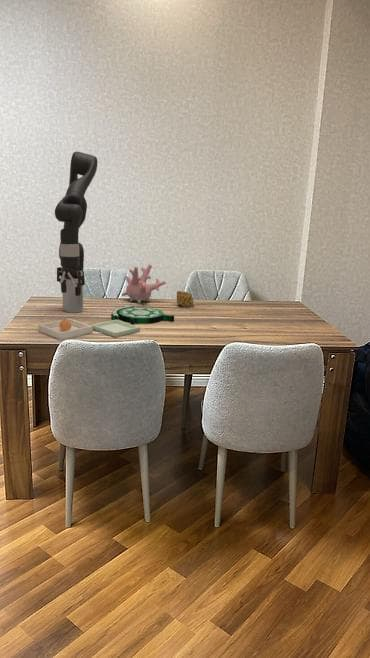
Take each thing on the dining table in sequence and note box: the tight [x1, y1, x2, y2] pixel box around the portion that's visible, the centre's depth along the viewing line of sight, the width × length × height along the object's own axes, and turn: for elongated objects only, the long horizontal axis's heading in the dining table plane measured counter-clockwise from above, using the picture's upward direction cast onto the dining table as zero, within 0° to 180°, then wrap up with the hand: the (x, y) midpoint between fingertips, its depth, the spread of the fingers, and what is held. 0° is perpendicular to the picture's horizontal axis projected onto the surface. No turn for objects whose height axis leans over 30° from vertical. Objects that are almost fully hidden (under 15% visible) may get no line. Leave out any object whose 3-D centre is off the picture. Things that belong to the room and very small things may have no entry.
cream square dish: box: [37, 318, 94, 341], centre depth 206 cm, size 16×16×3 cm
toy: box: [121, 264, 167, 304], centre depth 264 cm, size 18×21×20 cm
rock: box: [176, 290, 195, 308], centre depth 263 cm, size 12×9×10 cm
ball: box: [59, 318, 72, 331], centre depth 205 cm, size 5×5×5 cm
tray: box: [90, 319, 141, 338], centre depth 212 cm, size 16×14×2 cm
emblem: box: [110, 305, 175, 325], centre depth 233 cm, size 25×3×30 cm
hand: (70, 294), depth 202 cm, fingers open, 8 cm apart
